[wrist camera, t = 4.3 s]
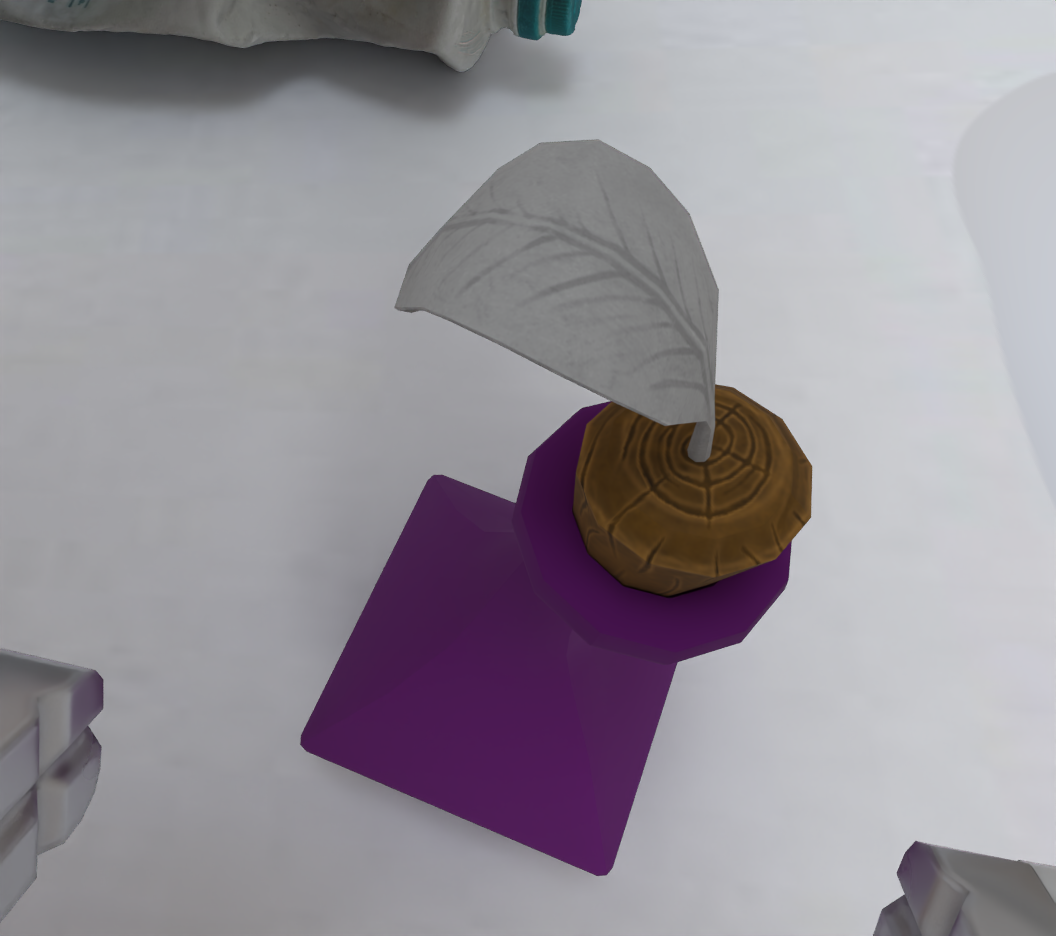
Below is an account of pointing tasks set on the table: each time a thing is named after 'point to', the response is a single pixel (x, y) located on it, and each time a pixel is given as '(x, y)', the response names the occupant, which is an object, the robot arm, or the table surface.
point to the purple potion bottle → (569, 519)
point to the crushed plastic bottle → (312, 21)
